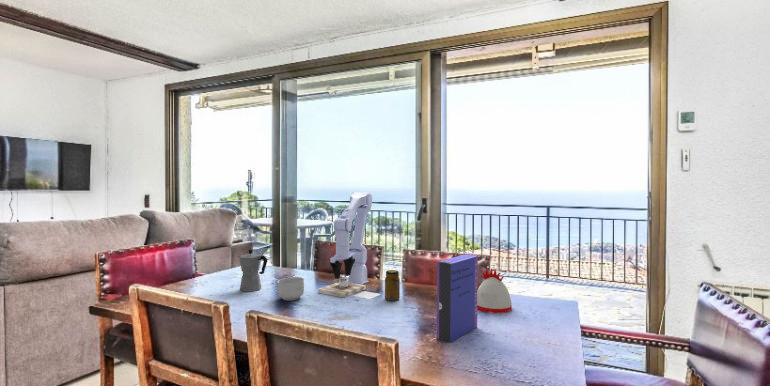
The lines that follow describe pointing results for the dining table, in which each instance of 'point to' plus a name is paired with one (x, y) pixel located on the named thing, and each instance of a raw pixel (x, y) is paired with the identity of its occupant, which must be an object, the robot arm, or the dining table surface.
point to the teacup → (290, 288)
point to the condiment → (392, 285)
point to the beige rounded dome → (493, 294)
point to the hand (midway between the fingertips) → (342, 276)
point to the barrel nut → (343, 281)
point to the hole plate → (340, 292)
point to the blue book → (456, 297)
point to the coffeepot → (251, 271)
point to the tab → (367, 295)
